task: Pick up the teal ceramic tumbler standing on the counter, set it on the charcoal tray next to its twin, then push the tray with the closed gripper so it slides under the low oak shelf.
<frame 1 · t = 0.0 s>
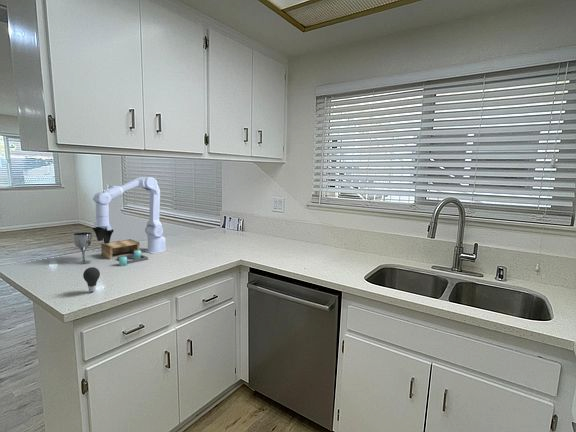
hand: (103, 241, 163), 10 cm above the worktop, tool pointing down, fingers open, 7 cm apart
shelf: (121, 255, 176), on the worktop
tray: (132, 261, 168), on the worktop, touching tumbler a
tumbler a: (137, 258, 170), resting on tray
tumbler b: (123, 265, 158), on the worktop
light bulb: (92, 292, 125), on the worktop
wine glass: (83, 262, 160), on the worktop
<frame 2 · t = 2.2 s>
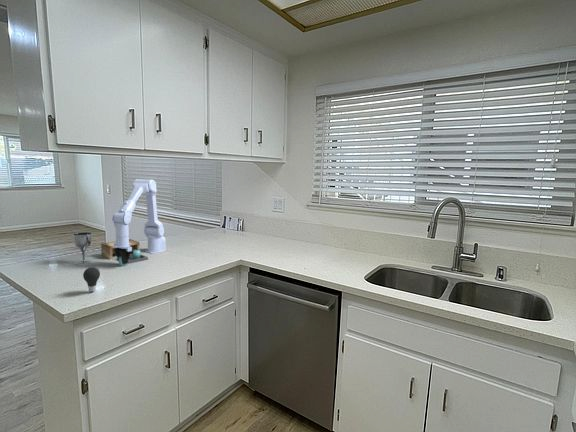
hand: (123, 262, 158), 1 cm above the worktop, tool pointing down, fingers closed on tumbler b, 4 cm apart
tray: (132, 261, 168), on the worktop
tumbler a: (136, 258, 170), resting on tray
tumbler b: (123, 265, 158), on the worktop, touching gripper
everything else where it was.
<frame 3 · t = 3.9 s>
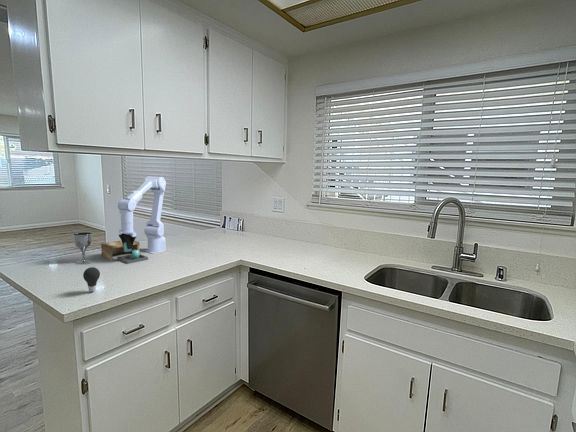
hand: (127, 248, 165), 7 cm above the worktop, tool pointing down, fingers closed on tumbler b, 4 cm apart
tray: (132, 260, 168), on the worktop, touching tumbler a
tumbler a: (135, 258, 170), resting on tray, tilted 8°
tumbler b: (127, 251, 165), point 5 cm above the worktop, touching gripper
everything else where it was.
when the fingers open (3 cm above the worktop, at t = 4.8 s): tumbler b drops 2 cm, resting on tray.
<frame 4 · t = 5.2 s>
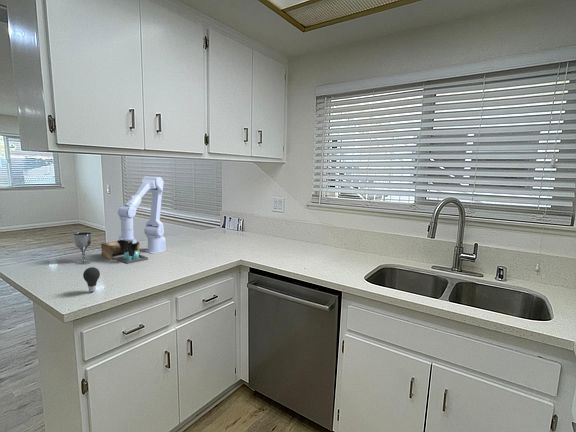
hand: (128, 254, 166), 3 cm above the worktop, tool pointing down, fingers open, 7 cm apart
tray: (132, 261, 168), on the worktop, touching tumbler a, tumbler b
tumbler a: (135, 259, 169), resting in tray
tumbler b: (128, 260, 166), resting on tray
everything else where it was.
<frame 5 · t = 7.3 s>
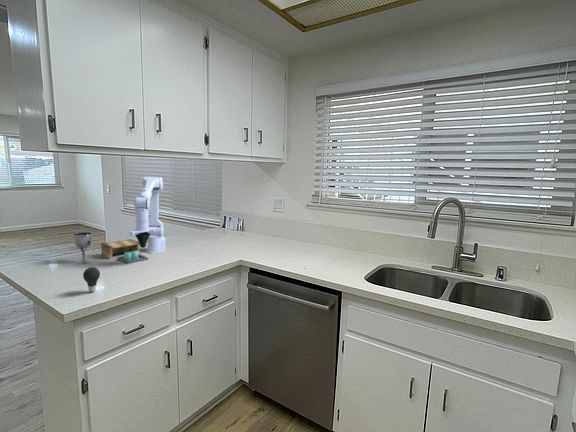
hand: (142, 247, 161), 9 cm above the worktop, tool pointing down, fingers closed
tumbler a: (134, 259, 169), resting in tray
everything else where it was.
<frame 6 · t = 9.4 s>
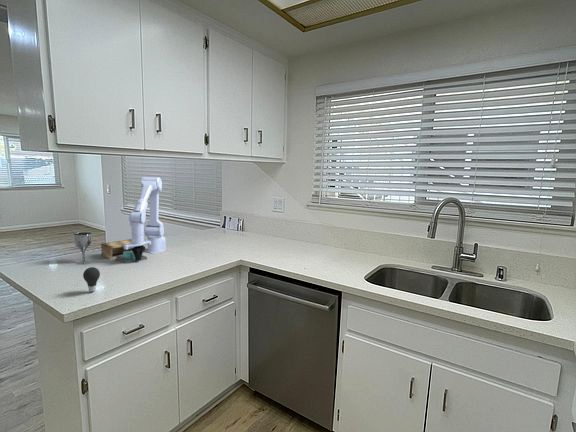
hand: (138, 260, 165), 1 cm above the worktop, tool pointing down, fingers closed
tray: (131, 260, 169), on the worktop, touching gripper, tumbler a, tumbler b
tumbler b: (127, 260, 167), resting on tray
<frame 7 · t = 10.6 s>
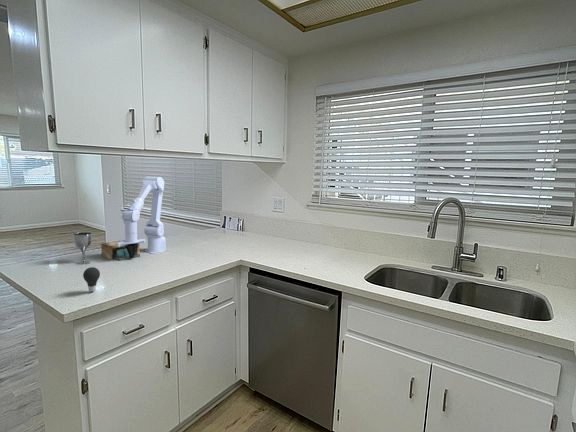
hand: (131, 257, 169), 1 cm above the worktop, tool pointing down, fingers closed
tray: (125, 258, 173), on the worktop, touching gripper, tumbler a
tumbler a: (127, 256, 174), resting on tray
tumbler b: (120, 257, 171), resting on tray
everything else where it was.
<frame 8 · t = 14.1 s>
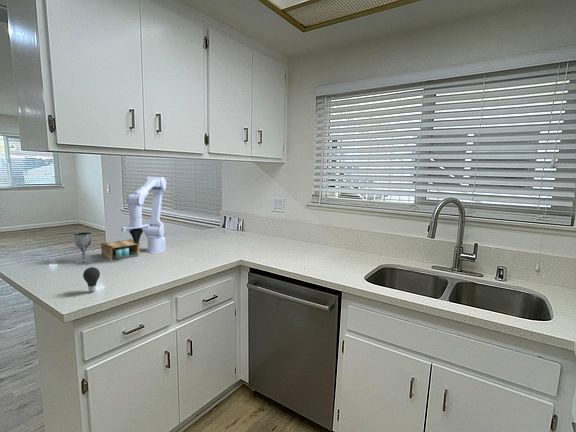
hand: (136, 243, 164), 10 cm above the worktop, tool pointing down, fingers closed
tray: (123, 257, 174), on the worktop, touching tumbler b
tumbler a: (125, 256, 174), resting in tray
tumbler b: (118, 257, 172), resting in tray
everything else where it was.
at the end: tray 0.5 cm from the target spot, on the worktop; tumbler b 2.3 cm from the tray (horizontally); tumbler b tilted 1° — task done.
